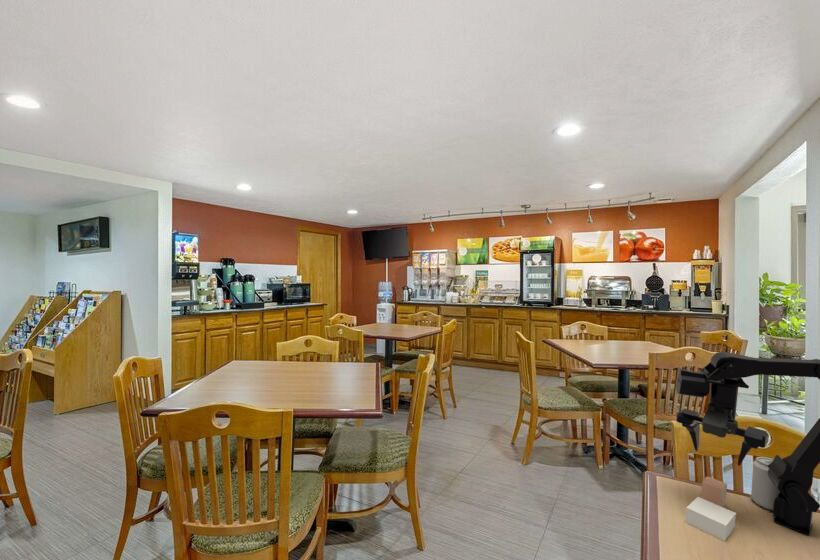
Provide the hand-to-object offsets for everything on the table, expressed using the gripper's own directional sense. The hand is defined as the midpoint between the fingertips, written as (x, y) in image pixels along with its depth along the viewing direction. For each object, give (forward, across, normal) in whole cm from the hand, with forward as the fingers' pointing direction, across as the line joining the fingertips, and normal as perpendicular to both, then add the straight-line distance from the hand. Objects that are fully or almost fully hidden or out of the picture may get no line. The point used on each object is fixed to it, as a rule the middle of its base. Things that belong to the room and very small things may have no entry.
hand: (717, 457), depth 107 cm
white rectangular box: (+13, +2, -11) cm, 17 cm away
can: (+13, +10, +12) cm, 21 cm away
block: (+13, 0, 0) cm, 13 cm away
